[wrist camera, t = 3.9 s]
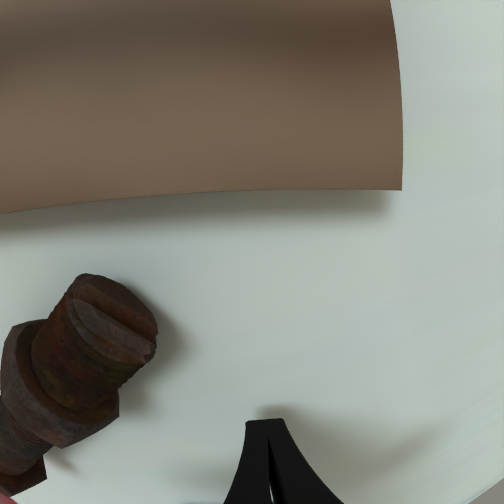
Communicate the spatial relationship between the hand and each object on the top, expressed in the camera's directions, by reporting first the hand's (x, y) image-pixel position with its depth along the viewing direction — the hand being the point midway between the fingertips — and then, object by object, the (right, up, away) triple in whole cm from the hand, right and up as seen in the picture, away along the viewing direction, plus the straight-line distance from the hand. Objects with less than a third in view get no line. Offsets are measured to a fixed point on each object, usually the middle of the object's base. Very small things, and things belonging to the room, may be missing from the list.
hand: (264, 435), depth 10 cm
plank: (-12, +13, -4) cm, 18 cm away
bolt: (-10, +1, +1) cm, 10 cm away
